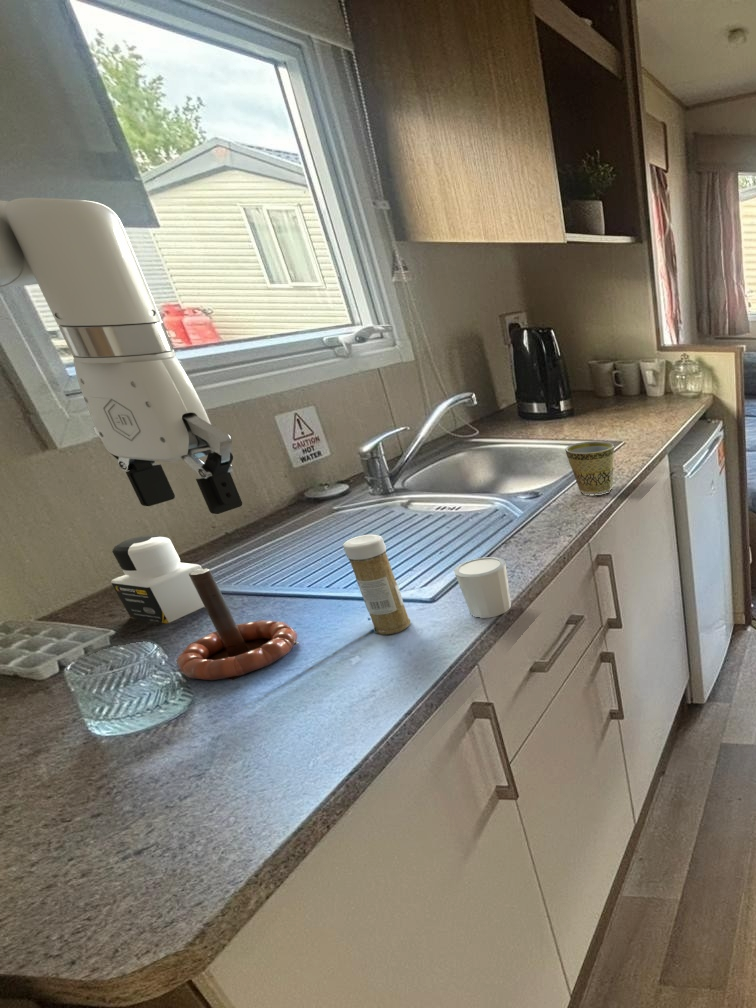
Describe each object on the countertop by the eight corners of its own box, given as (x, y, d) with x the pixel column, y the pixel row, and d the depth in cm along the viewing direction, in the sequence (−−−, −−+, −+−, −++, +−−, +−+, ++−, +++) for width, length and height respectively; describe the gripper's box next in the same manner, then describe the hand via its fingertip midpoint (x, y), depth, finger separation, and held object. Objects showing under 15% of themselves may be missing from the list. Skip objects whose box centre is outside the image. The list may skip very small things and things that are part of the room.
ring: (157, 679, 80) (148, 662, 78) (243, 630, 90) (236, 615, 89) (242, 686, 78) (234, 670, 77) (320, 636, 88) (314, 620, 87)
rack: (180, 678, 82) (129, 584, 76) (249, 641, 90) (207, 553, 83) (237, 687, 80) (189, 591, 74) (302, 649, 88) (264, 559, 81)
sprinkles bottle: (417, 619, 94) (389, 533, 88) (400, 636, 90) (369, 546, 84) (386, 620, 94) (355, 533, 88) (367, 636, 90) (333, 546, 84)
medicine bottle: (133, 624, 94) (90, 548, 88) (185, 602, 100) (147, 528, 94) (171, 630, 92) (129, 552, 87) (221, 606, 99) (185, 532, 93)
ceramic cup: (614, 498, 140) (607, 452, 136) (567, 499, 140) (558, 453, 136) (627, 480, 152) (621, 437, 147) (584, 481, 152) (576, 438, 147)
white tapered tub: (467, 602, 99) (455, 560, 96) (515, 594, 101) (505, 553, 98) (464, 623, 93) (451, 579, 90) (515, 615, 95) (504, 571, 92)
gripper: (10, 344, 64) (96, 510, 72) (145, 351, 60) (220, 525, 68) (99, 336, 70) (169, 489, 78) (226, 342, 67) (286, 502, 75)
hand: (193, 506), depth 73 cm, fingers open, 9 cm apart
